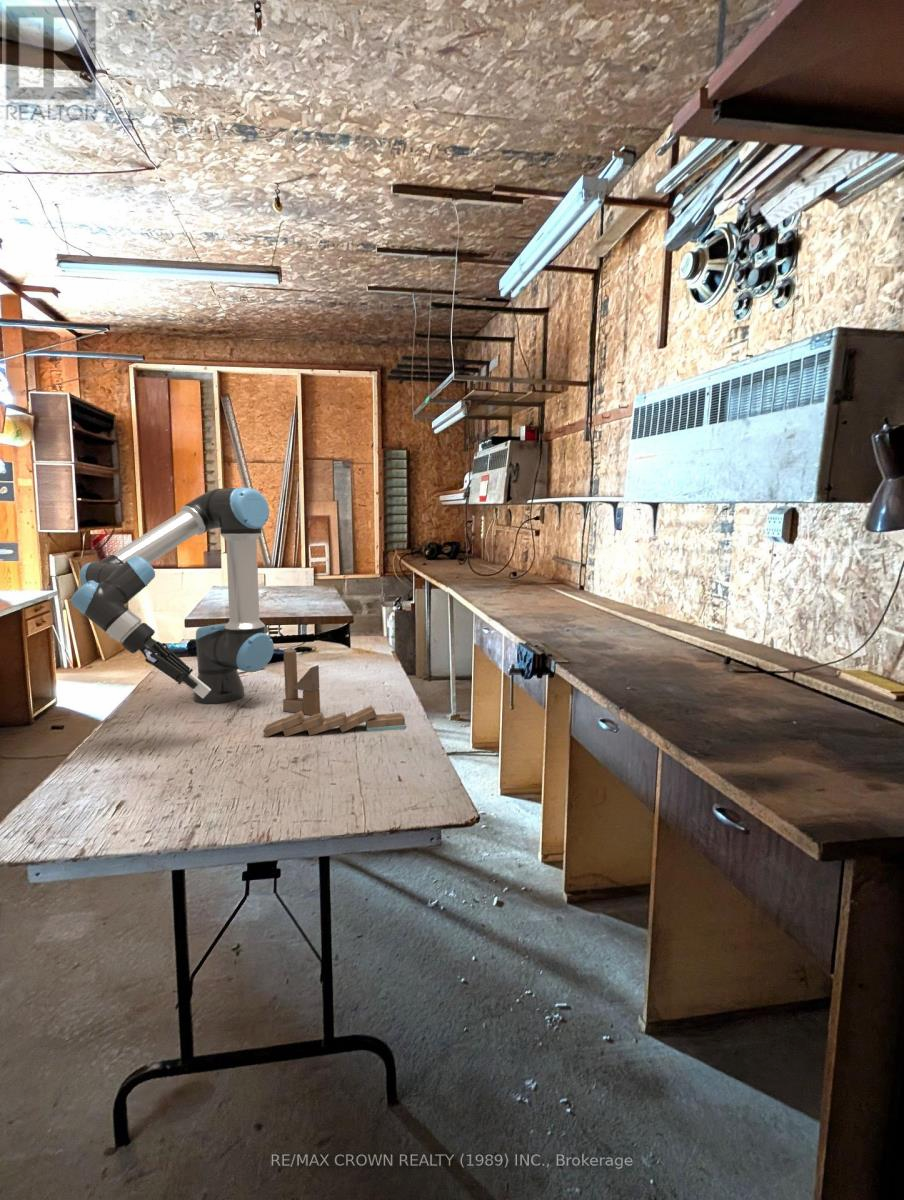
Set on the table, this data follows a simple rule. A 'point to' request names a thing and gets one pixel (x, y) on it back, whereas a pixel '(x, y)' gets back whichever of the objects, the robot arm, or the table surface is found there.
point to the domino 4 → (358, 718)
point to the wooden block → (300, 687)
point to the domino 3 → (329, 723)
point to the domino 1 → (284, 723)
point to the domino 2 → (305, 724)
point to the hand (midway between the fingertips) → (206, 693)
